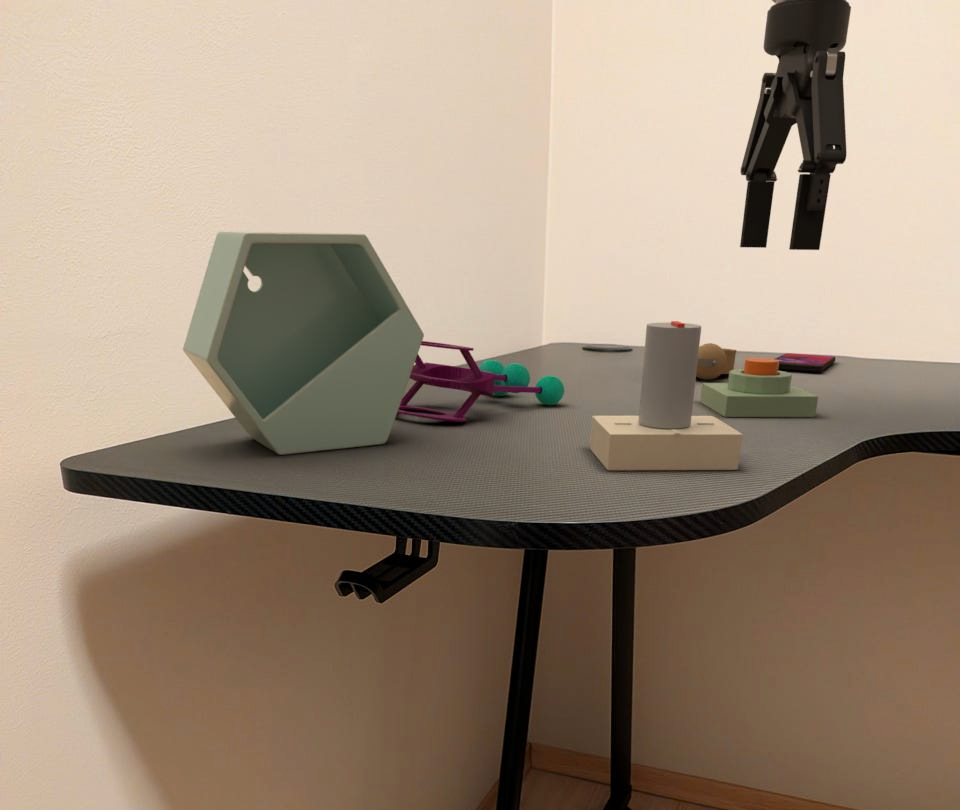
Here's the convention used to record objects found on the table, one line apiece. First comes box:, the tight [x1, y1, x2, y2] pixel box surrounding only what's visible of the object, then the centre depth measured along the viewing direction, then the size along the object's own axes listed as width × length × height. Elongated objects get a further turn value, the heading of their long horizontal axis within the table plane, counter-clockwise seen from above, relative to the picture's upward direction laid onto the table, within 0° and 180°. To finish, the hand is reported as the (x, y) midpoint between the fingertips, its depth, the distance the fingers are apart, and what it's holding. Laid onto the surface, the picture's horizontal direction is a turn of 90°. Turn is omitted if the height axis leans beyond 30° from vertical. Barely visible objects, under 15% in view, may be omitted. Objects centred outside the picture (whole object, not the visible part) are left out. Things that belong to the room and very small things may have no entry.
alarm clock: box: [696, 342, 738, 381], centre depth 124 cm, size 11×5×15 cm
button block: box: [699, 368, 819, 418], centre depth 101 cm, size 10×9×4 cm
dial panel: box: [589, 415, 743, 471], centre depth 78 cm, size 11×9×3 cm
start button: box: [743, 357, 779, 376], centre depth 100 cm, size 4×4×2 cm
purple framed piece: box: [397, 340, 565, 423], centre depth 98 cm, size 12×20×7 cm, turn 134°
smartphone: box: [775, 353, 837, 372], centre depth 136 cm, size 8×1×15 cm
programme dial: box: [638, 320, 702, 429], centre depth 76 cm, size 4×4×8 cm
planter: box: [182, 231, 425, 456], centre depth 79 cm, size 17×8×21 cm
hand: (776, 249), depth 94 cm, fingers open, 13 cm apart
